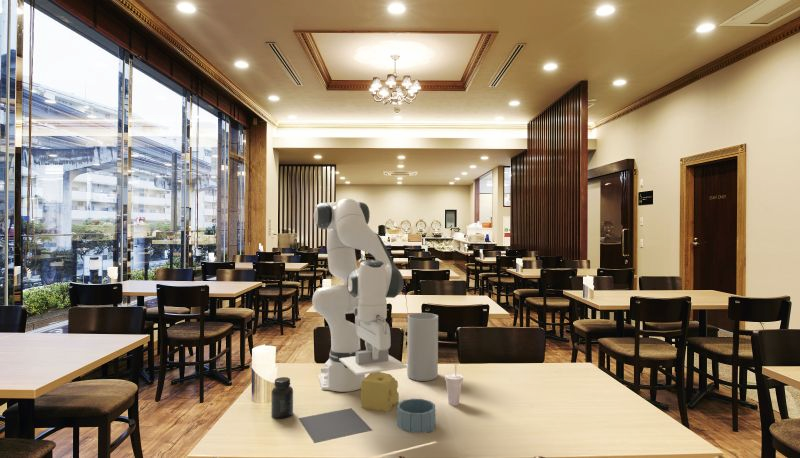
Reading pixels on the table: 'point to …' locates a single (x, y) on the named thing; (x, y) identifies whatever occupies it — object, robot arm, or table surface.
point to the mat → (334, 425)
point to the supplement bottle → (282, 399)
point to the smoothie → (453, 387)
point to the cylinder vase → (422, 346)
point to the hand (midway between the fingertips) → (372, 357)
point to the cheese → (379, 391)
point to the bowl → (416, 415)
